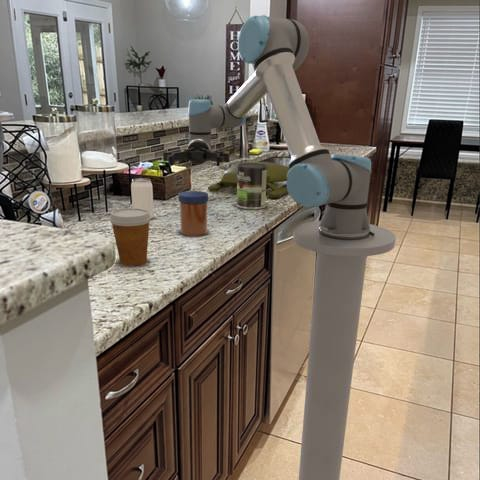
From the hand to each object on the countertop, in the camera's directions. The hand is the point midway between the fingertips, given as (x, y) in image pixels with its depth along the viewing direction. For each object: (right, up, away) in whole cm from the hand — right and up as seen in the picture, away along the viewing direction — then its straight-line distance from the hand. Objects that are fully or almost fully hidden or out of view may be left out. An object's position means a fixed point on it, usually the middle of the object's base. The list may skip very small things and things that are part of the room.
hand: (194, 161), depth 146 cm
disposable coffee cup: (-12, -32, -25) cm, 42 cm away
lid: (0, -11, -6) cm, 13 cm away
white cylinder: (-17, -15, +13) cm, 26 cm away
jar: (0, -21, -1) cm, 21 cm away
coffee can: (+17, -8, +30) cm, 36 cm away
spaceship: (+21, +6, +61) cm, 64 cm away
